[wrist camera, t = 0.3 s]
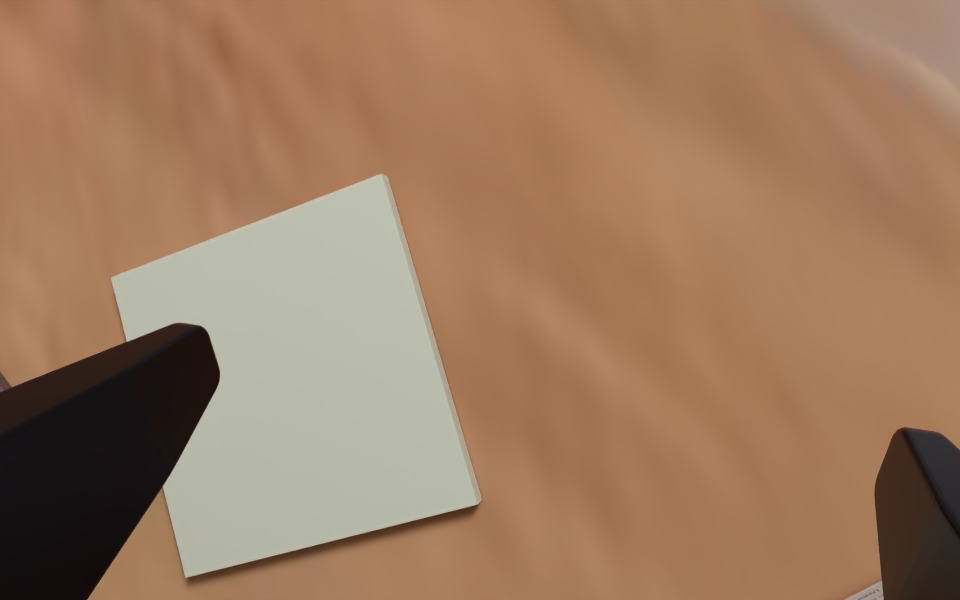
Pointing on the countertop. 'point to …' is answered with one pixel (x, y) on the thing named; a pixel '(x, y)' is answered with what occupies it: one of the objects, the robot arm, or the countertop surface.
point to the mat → (306, 382)
